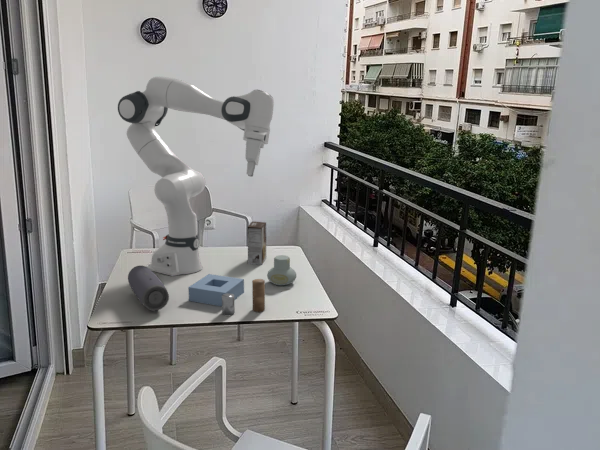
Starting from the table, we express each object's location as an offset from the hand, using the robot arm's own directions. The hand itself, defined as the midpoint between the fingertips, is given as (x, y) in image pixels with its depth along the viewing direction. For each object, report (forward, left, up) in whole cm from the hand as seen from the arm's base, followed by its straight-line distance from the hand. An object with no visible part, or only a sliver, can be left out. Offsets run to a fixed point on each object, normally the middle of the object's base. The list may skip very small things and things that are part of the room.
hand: (249, 175), depth 182 cm
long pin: (+12, -21, -41) cm, 47 cm away
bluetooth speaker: (-25, -28, -41) cm, 56 cm away
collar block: (-6, -16, -41) cm, 44 cm away
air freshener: (+10, +5, -41) cm, 43 cm away
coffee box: (-9, +25, -41) cm, 49 cm away
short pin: (+4, -27, -41) cm, 49 cm away
